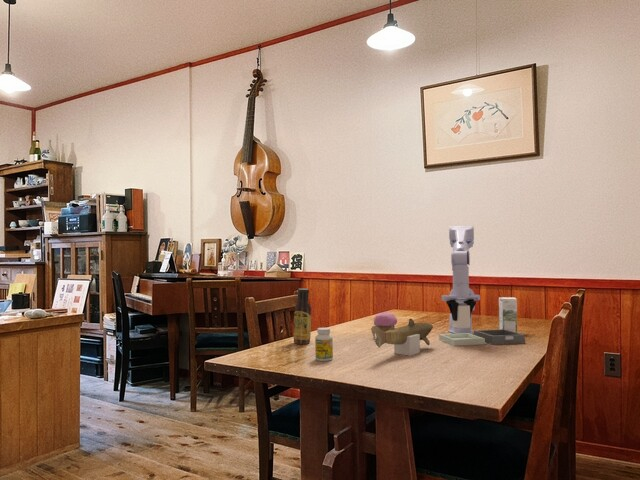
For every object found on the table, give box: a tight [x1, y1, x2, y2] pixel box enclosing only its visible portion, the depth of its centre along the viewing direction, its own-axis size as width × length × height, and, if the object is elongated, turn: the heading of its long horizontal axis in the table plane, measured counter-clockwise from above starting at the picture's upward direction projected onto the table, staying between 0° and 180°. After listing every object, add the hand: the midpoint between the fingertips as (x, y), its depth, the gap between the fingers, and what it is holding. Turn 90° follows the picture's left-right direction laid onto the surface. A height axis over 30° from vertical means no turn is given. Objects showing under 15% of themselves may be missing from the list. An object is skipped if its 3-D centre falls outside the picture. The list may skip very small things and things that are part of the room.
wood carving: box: [370, 318, 434, 357], centre depth 160 cm, size 9×35×11 cm, turn 138°
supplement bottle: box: [314, 327, 334, 362], centre depth 152 cm, size 5×5×10 cm
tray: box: [438, 333, 486, 347], centre depth 180 cm, size 12×12×2 cm
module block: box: [453, 303, 470, 328], centre depth 180 cm, size 4×4×9 cm
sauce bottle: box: [292, 288, 312, 345], centre depth 179 cm, size 7×6×20 cm
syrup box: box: [498, 296, 518, 333], centre depth 199 cm, size 6×6×14 cm
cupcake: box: [373, 311, 398, 332], centre depth 189 cm, size 9×9×10 cm
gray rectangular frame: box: [473, 328, 526, 346], centre depth 182 cm, size 14×13×3 cm
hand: (461, 320), depth 180 cm, fingers closed on module block, 4 cm apart
